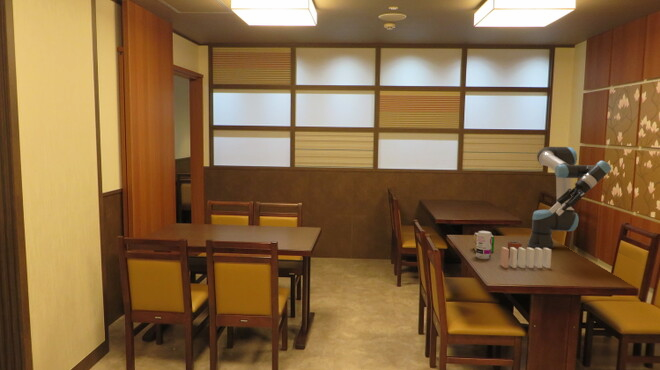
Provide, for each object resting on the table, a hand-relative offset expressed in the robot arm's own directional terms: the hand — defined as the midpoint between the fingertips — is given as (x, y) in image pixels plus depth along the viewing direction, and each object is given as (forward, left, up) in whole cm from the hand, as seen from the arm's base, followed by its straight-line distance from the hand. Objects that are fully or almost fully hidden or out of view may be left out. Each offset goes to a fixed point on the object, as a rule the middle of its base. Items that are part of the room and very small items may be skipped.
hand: (554, 212), depth 266 cm
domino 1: (+29, +8, -28) cm, 42 cm away
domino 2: (+25, +8, -28) cm, 39 cm away
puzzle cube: (+28, -27, -29) cm, 49 cm away
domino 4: (+16, +8, -28) cm, 33 cm away
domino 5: (+11, +8, -28) cm, 32 cm away
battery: (+16, -10, -29) cm, 35 cm away
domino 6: (+6, +8, -28) cm, 30 cm away
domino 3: (+20, +8, -28) cm, 36 cm away
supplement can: (+34, -10, -29) cm, 46 cm away
